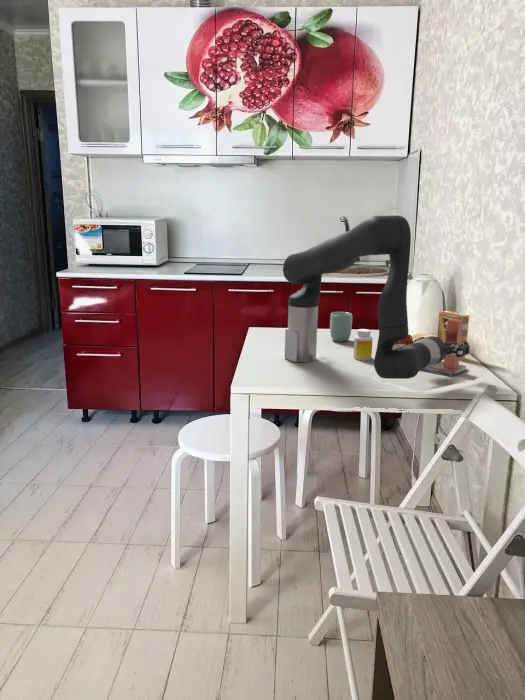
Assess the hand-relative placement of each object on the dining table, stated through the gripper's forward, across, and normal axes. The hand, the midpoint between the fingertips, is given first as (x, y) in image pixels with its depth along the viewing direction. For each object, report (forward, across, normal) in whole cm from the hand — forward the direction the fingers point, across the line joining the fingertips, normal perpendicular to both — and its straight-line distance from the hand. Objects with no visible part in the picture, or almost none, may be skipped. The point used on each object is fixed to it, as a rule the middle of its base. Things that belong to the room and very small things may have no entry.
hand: (451, 342), depth 167 cm
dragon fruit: (+14, +23, +10) cm, 29 cm away
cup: (+16, +48, +10) cm, 52 cm away
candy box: (+18, +7, +10) cm, 22 cm away
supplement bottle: (-4, +27, +10) cm, 29 cm away
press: (+1, +8, +10) cm, 13 cm away
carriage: (+1, +2, +8) cm, 9 cm away
